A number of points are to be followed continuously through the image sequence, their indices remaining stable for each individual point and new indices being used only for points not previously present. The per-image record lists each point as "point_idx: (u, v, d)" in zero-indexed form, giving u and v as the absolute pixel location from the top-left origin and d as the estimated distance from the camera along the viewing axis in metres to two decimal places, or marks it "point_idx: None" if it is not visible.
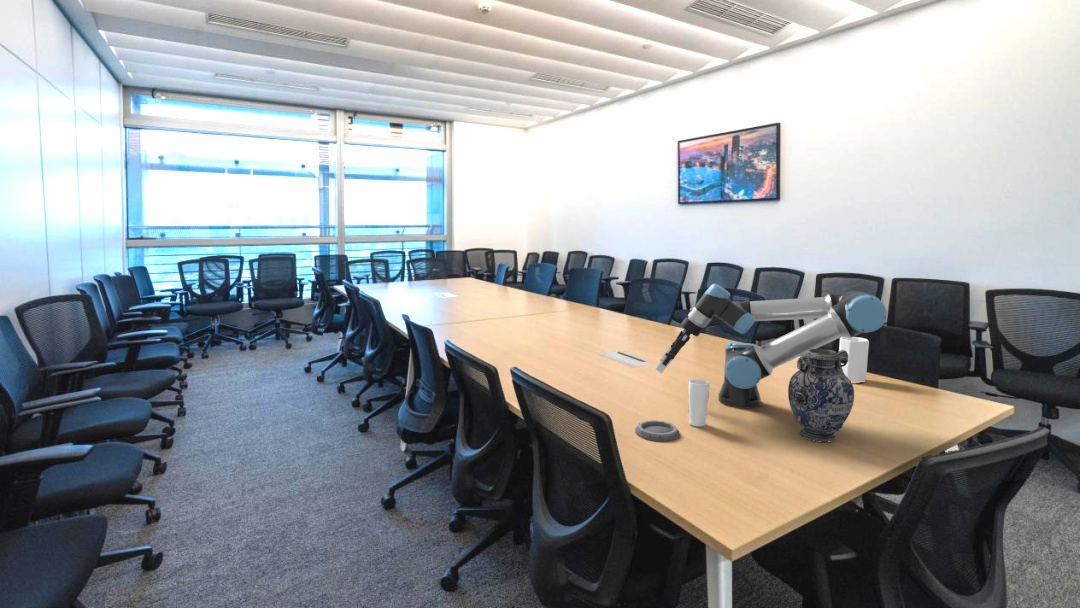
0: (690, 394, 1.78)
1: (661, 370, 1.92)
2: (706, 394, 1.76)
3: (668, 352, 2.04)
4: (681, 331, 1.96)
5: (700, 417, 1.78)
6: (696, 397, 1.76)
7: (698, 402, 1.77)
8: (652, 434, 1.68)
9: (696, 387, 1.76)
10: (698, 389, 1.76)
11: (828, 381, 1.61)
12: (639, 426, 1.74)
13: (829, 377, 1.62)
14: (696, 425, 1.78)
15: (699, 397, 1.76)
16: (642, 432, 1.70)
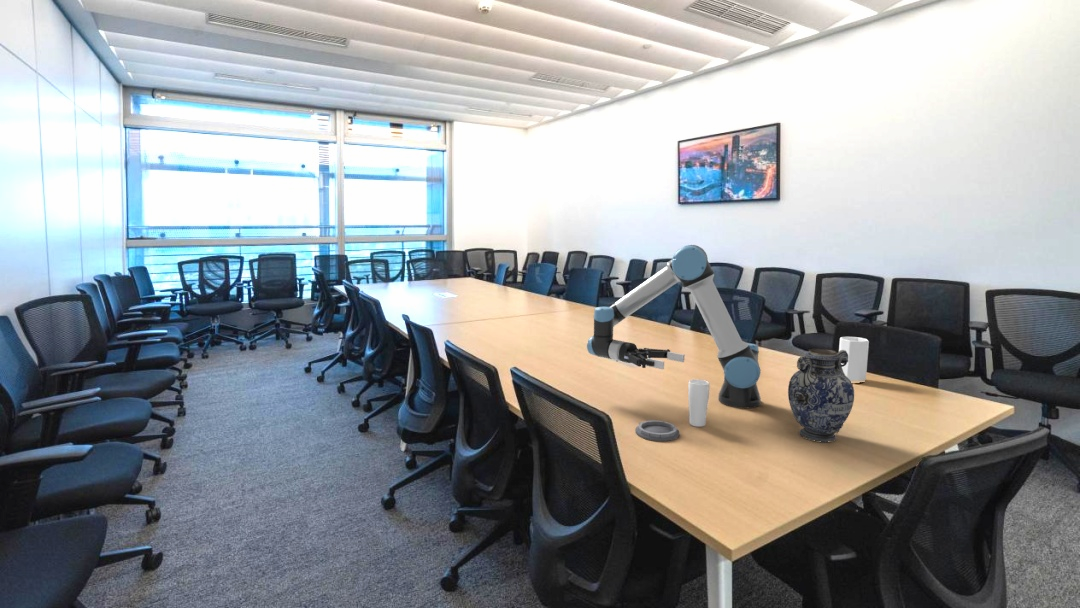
0: (690, 394, 1.78)
1: (660, 363, 1.80)
2: (706, 394, 1.76)
3: (671, 357, 1.93)
4: None
5: (700, 417, 1.78)
6: (696, 397, 1.76)
7: (698, 402, 1.77)
8: (652, 434, 1.68)
9: (696, 387, 1.76)
10: (698, 389, 1.76)
11: (828, 381, 1.61)
12: (639, 426, 1.74)
13: (829, 377, 1.62)
14: (696, 425, 1.78)
15: (699, 397, 1.76)
16: (642, 432, 1.70)
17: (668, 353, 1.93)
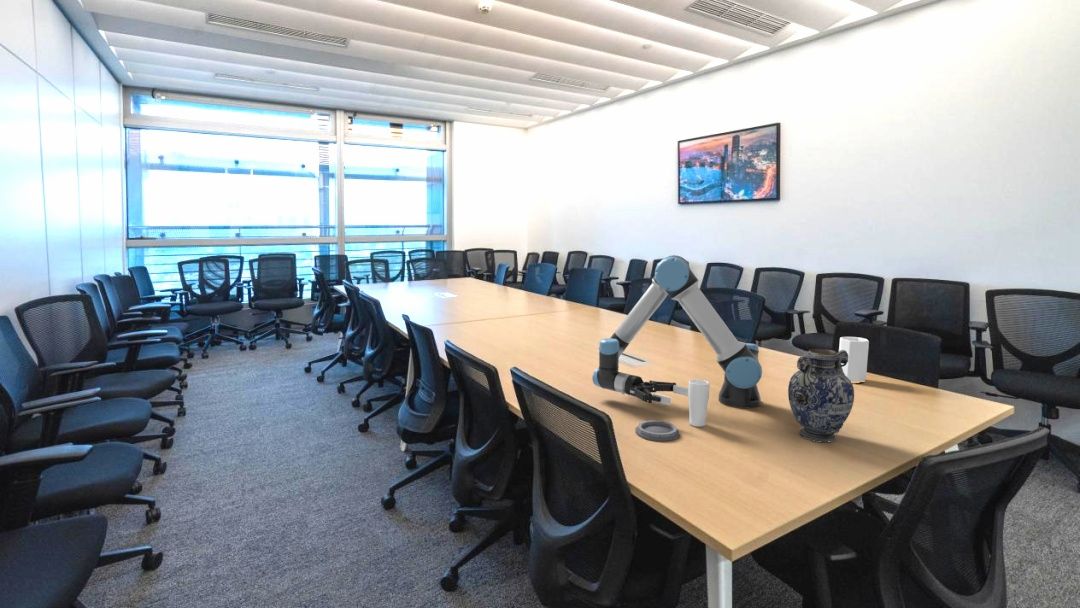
0: (690, 394, 1.78)
1: (666, 399, 1.79)
2: (706, 394, 1.76)
3: (677, 391, 1.92)
4: None
5: (700, 417, 1.78)
6: (696, 397, 1.76)
7: (698, 402, 1.77)
8: (652, 434, 1.68)
9: (696, 387, 1.76)
10: (698, 389, 1.76)
11: (828, 381, 1.61)
12: (639, 426, 1.74)
13: (829, 377, 1.62)
14: (696, 425, 1.78)
15: (699, 397, 1.76)
16: (642, 432, 1.70)
17: (674, 387, 1.93)
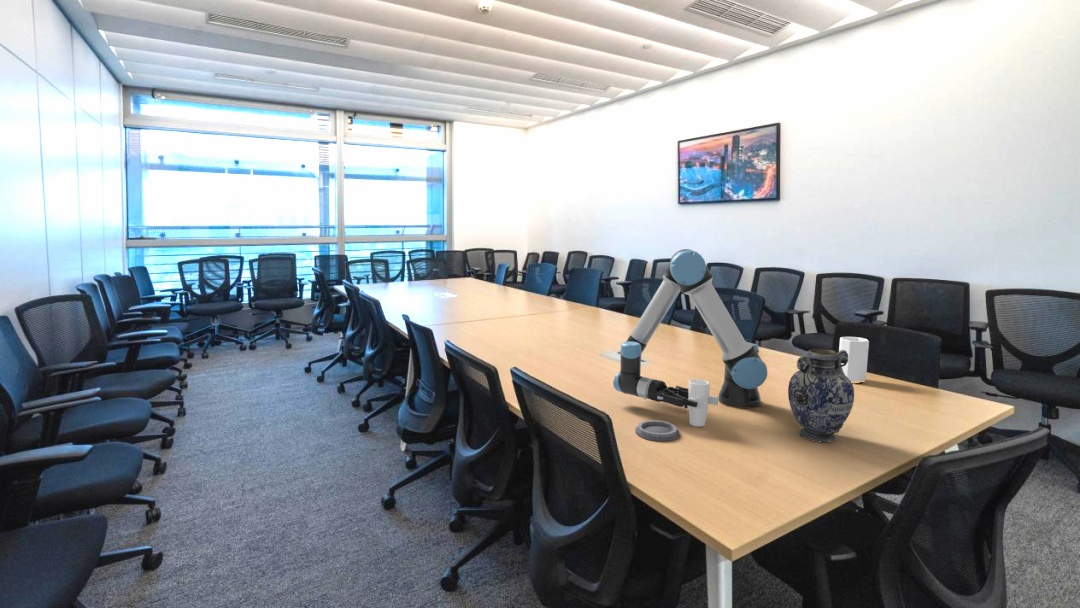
0: (690, 394, 1.78)
1: (704, 404, 1.74)
2: (706, 394, 1.76)
3: None
4: None
5: (700, 417, 1.78)
6: (696, 397, 1.76)
7: None
8: (652, 434, 1.68)
9: (696, 387, 1.76)
10: (698, 389, 1.76)
11: (828, 381, 1.61)
12: (639, 426, 1.74)
13: (829, 377, 1.62)
14: (696, 425, 1.78)
15: (699, 397, 1.76)
16: (642, 432, 1.70)
17: None
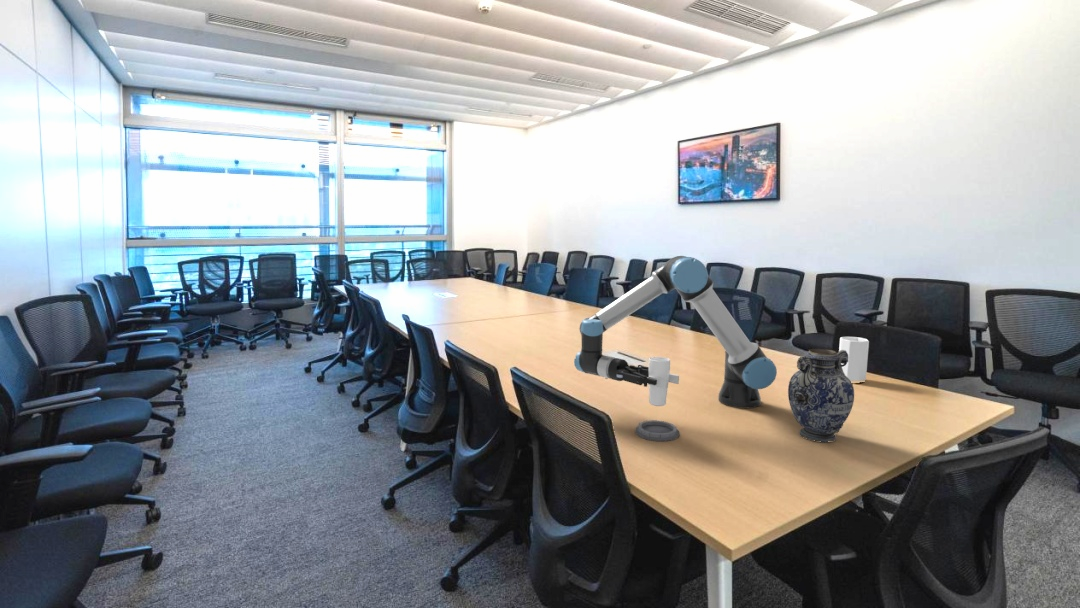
0: (650, 371, 1.70)
1: (663, 381, 1.65)
2: (666, 371, 1.68)
3: None
4: None
5: (660, 396, 1.69)
6: (656, 374, 1.68)
7: None
8: (652, 434, 1.68)
9: (656, 364, 1.68)
10: (658, 366, 1.67)
11: (828, 381, 1.61)
12: (639, 426, 1.74)
13: (829, 377, 1.62)
14: (656, 404, 1.70)
15: (659, 374, 1.68)
16: (642, 432, 1.70)
17: None
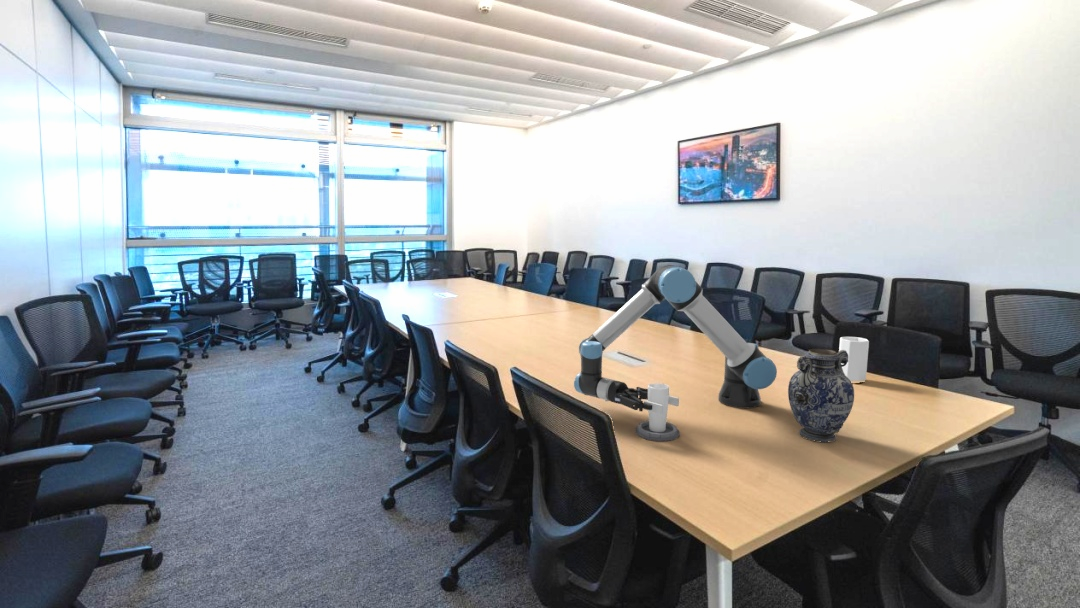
0: (649, 399, 1.71)
1: (658, 407, 1.66)
2: (665, 399, 1.69)
3: None
4: None
5: (659, 422, 1.70)
6: (655, 402, 1.69)
7: None
8: (652, 434, 1.68)
9: (655, 391, 1.69)
10: (657, 394, 1.69)
11: (828, 381, 1.61)
12: (639, 426, 1.74)
13: (829, 377, 1.62)
14: (655, 431, 1.71)
15: (658, 402, 1.69)
16: (642, 432, 1.70)
17: None
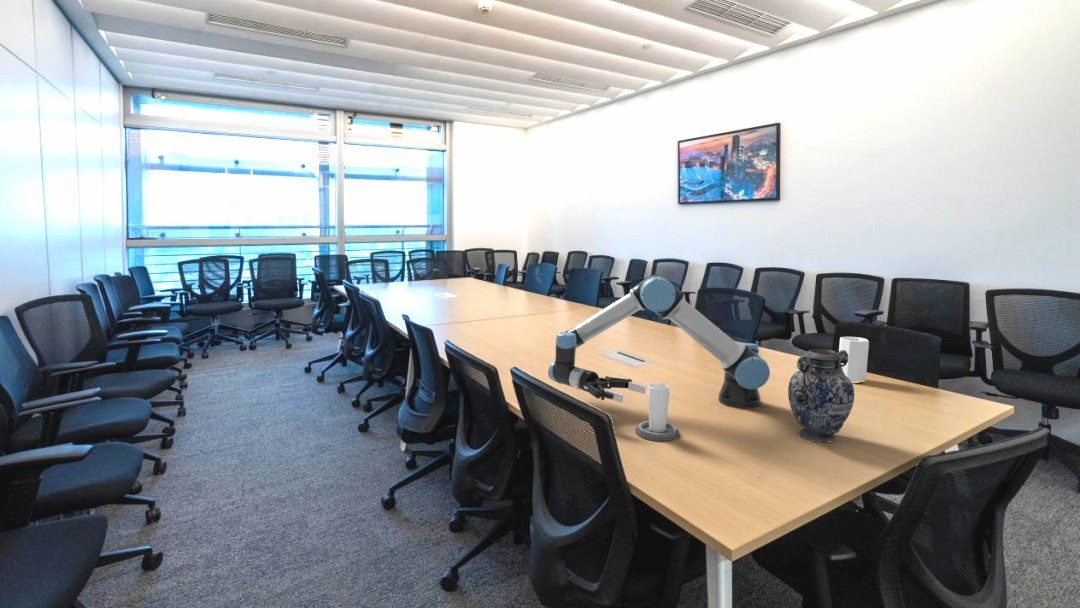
0: (649, 399, 1.71)
1: (619, 396, 1.75)
2: (666, 399, 1.69)
3: (632, 388, 1.87)
4: None
5: (660, 423, 1.70)
6: (655, 402, 1.69)
7: (657, 407, 1.69)
8: (652, 434, 1.68)
9: (655, 392, 1.69)
10: (657, 394, 1.69)
11: (828, 381, 1.61)
12: (639, 426, 1.74)
13: (829, 377, 1.62)
14: (656, 431, 1.71)
15: (658, 402, 1.69)
16: (642, 432, 1.70)
17: (629, 383, 1.88)
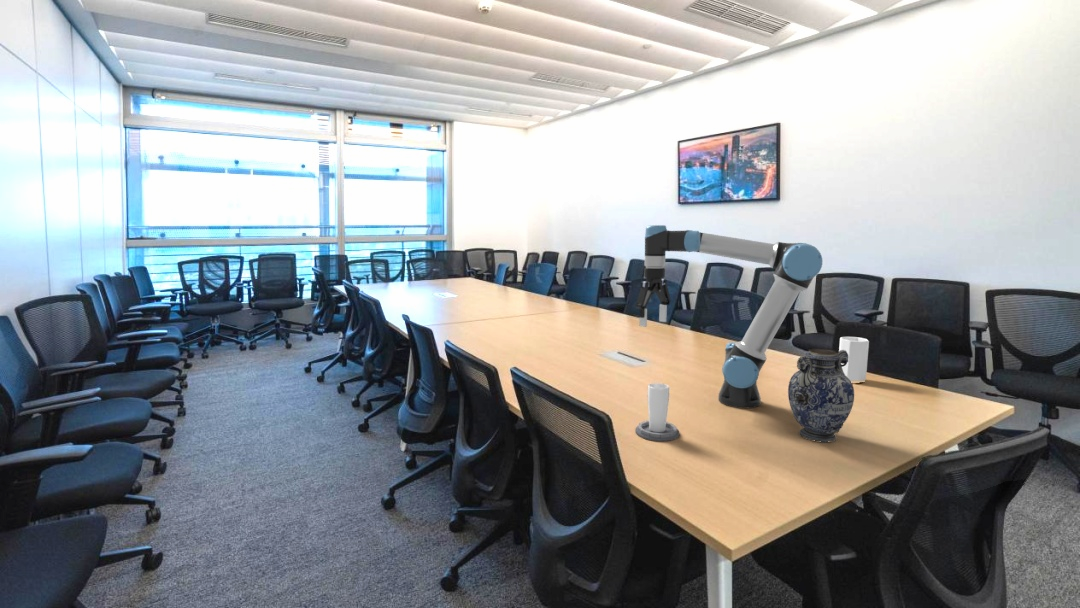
0: (649, 399, 1.71)
1: (643, 324, 1.94)
2: (666, 399, 1.69)
3: (661, 309, 2.04)
4: None
5: (660, 423, 1.70)
6: (655, 402, 1.69)
7: (657, 407, 1.69)
8: (652, 434, 1.68)
9: (655, 392, 1.69)
10: (657, 394, 1.69)
11: (828, 381, 1.61)
12: (639, 426, 1.74)
13: (829, 377, 1.62)
14: (656, 431, 1.71)
15: (658, 402, 1.69)
16: (642, 432, 1.70)
17: (664, 306, 2.02)
